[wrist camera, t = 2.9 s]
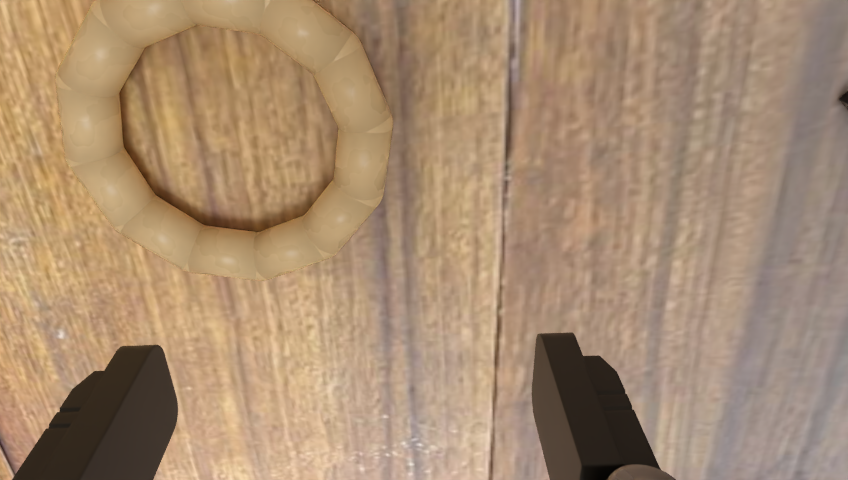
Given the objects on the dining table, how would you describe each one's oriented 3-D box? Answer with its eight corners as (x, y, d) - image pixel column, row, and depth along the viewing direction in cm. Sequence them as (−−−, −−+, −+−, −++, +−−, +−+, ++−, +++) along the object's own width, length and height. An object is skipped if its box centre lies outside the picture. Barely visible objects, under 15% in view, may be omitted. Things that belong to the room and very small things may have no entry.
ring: (170, -121, 20) (147, -122, 19) (452, 105, 24) (456, 122, 22) (23, 153, 25) (-6, 173, 23) (282, 307, 28) (274, 335, 27)
